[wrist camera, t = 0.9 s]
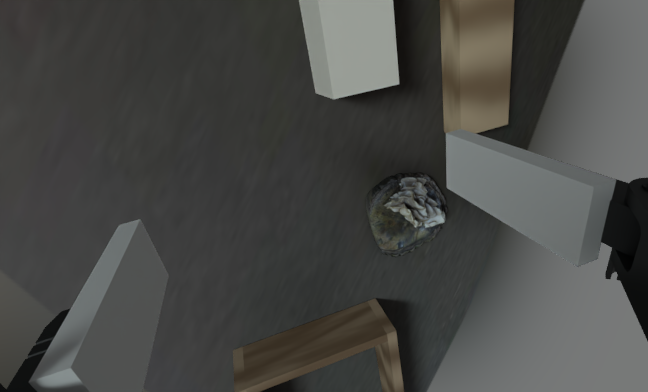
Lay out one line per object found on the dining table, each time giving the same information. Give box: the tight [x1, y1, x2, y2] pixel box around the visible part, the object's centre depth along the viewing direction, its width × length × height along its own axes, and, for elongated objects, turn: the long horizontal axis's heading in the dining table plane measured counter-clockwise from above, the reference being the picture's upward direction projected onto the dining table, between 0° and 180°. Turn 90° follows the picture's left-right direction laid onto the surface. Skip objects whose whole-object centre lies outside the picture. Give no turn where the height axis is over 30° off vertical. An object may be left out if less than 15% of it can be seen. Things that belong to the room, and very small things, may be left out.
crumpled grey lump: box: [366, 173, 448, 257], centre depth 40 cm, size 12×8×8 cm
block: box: [299, 0, 399, 99], centre depth 29 cm, size 9×6×6 cm, turn 11°
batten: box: [440, 0, 514, 134], centre depth 32 cm, size 24×6×3 cm, turn 11°
